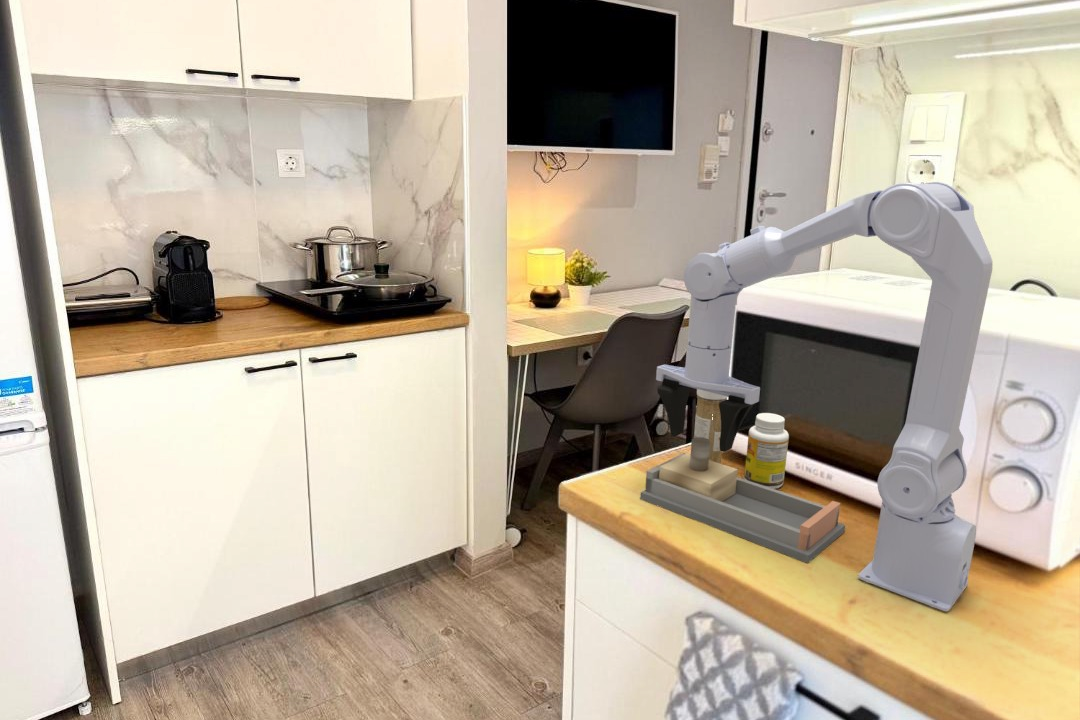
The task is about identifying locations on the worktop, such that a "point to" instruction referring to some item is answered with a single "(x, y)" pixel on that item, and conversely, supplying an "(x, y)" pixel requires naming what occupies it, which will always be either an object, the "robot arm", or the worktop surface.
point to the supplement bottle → (767, 451)
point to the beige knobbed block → (700, 472)
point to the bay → (754, 515)
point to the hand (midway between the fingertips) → (700, 441)
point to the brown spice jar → (709, 421)
